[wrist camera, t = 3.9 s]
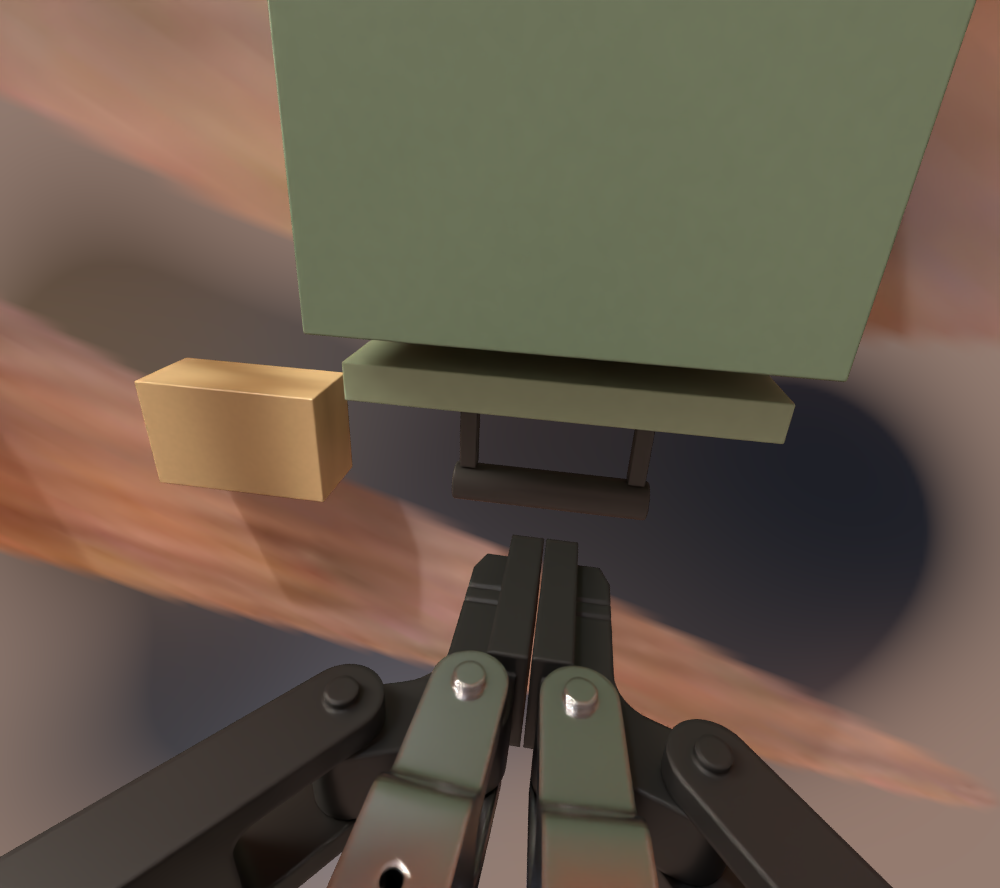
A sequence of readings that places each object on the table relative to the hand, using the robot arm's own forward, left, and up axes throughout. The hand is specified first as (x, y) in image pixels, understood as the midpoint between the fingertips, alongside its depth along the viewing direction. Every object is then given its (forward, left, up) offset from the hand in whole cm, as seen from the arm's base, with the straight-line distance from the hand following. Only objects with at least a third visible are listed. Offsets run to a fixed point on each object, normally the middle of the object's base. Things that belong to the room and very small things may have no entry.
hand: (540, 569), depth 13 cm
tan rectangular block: (-14, -3, -13) cm, 20 cm away
